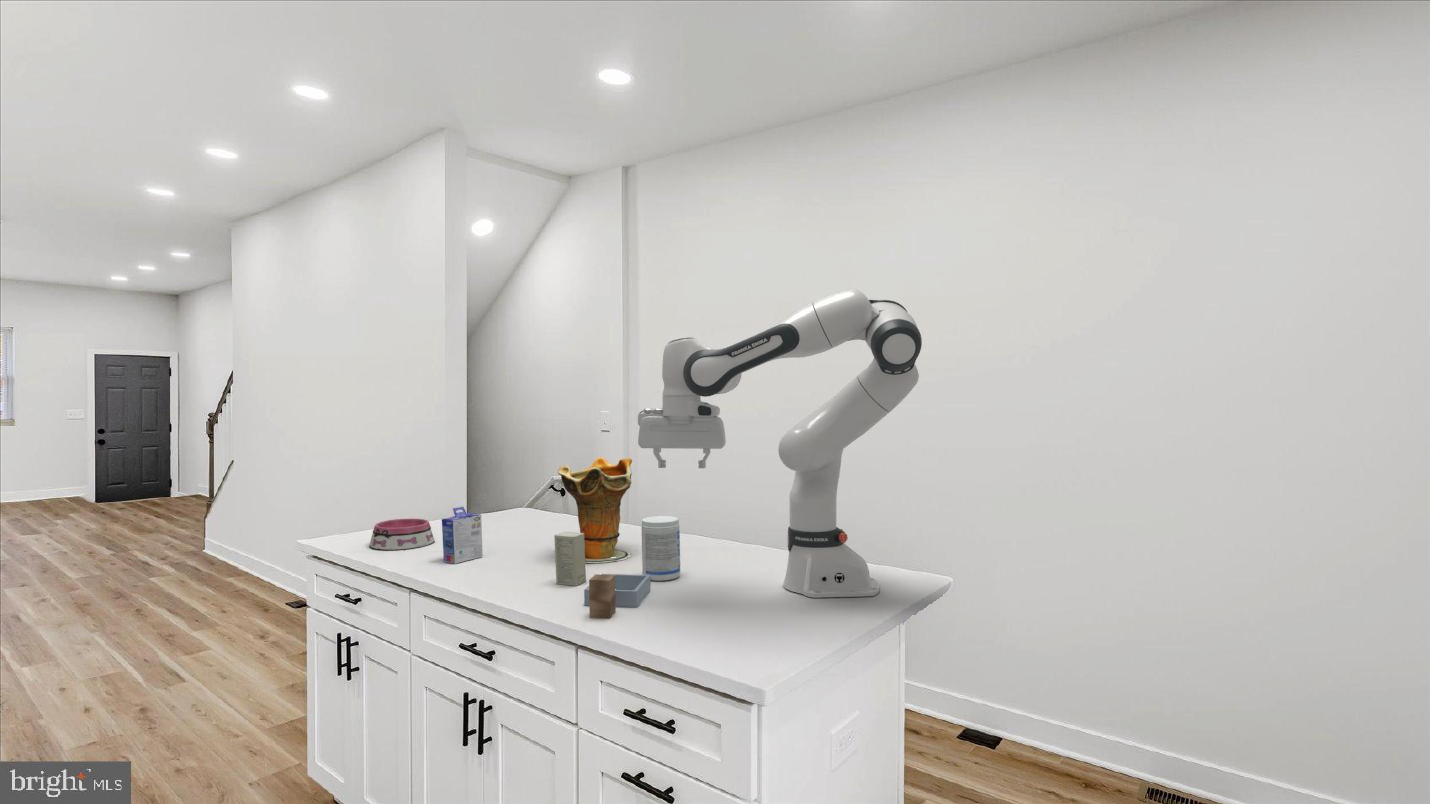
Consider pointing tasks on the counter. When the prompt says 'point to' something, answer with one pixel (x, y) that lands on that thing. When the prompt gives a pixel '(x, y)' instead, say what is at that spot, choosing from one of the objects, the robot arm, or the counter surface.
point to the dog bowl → (401, 535)
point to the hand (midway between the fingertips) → (682, 467)
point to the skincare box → (570, 558)
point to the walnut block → (602, 596)
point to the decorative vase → (599, 505)
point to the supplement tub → (661, 547)
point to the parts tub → (627, 589)
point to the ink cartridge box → (462, 537)
